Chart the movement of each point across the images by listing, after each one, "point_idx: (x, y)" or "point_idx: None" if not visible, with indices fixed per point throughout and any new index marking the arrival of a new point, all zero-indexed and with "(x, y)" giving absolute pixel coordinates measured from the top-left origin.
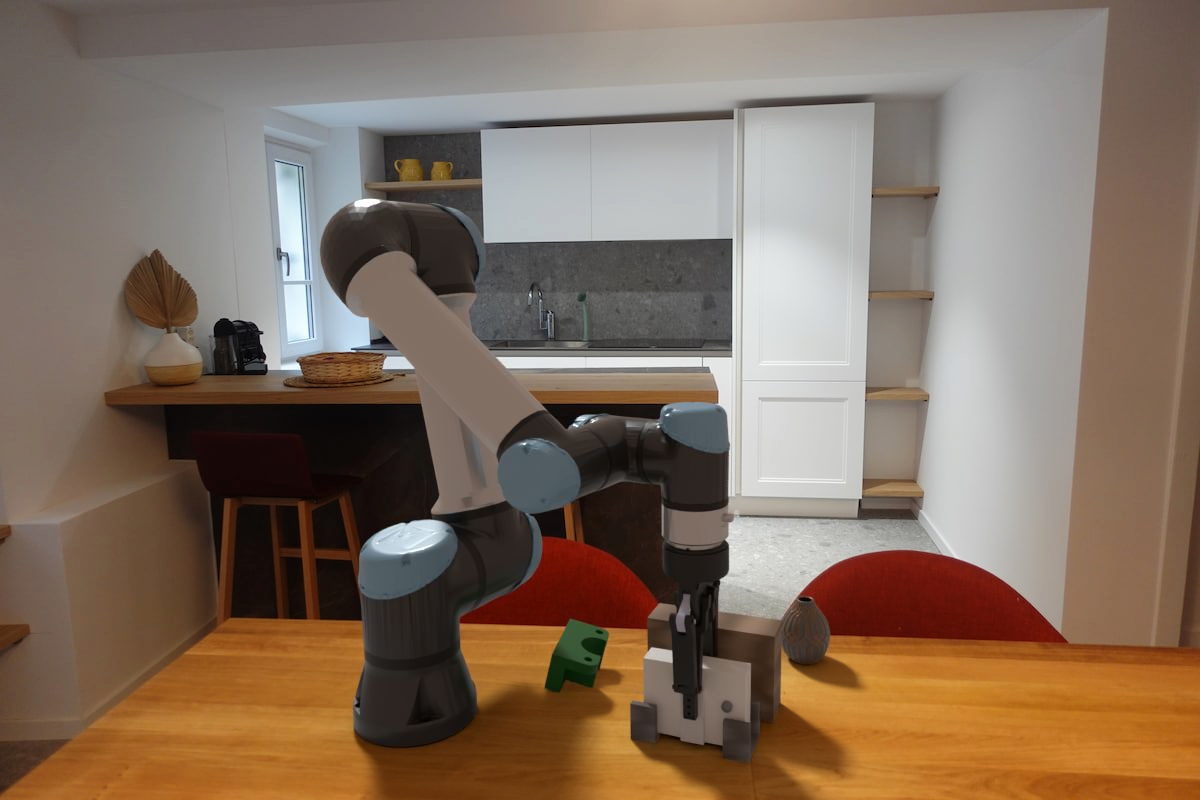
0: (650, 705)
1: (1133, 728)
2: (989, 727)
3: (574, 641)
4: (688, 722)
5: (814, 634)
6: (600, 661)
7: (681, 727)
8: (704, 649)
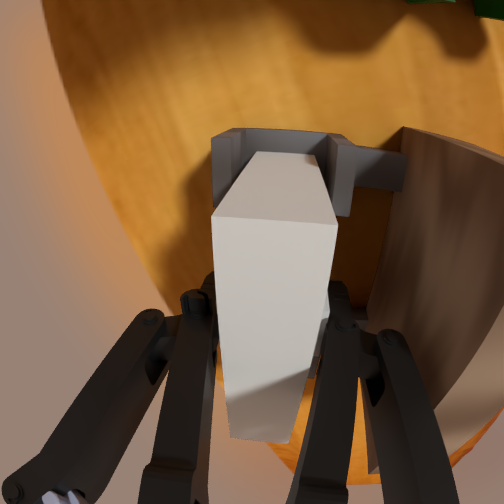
0: (221, 193)
1: (363, 477)
2: (361, 452)
3: None
4: None
5: None
6: (487, 15)
7: None
8: (312, 402)
